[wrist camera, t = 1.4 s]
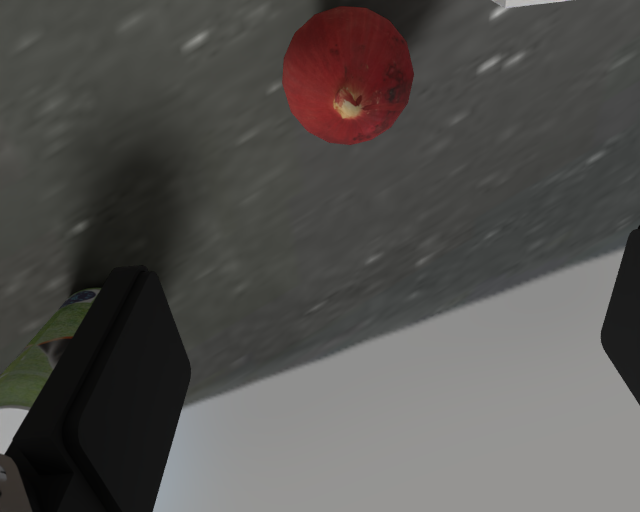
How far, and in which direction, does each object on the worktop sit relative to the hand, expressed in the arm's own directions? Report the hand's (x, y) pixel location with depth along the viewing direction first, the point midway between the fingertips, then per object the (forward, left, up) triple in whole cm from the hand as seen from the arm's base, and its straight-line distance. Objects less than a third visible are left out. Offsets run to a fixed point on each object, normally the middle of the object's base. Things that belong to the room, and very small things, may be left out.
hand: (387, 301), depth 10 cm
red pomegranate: (0, 0, -19) cm, 19 cm away
